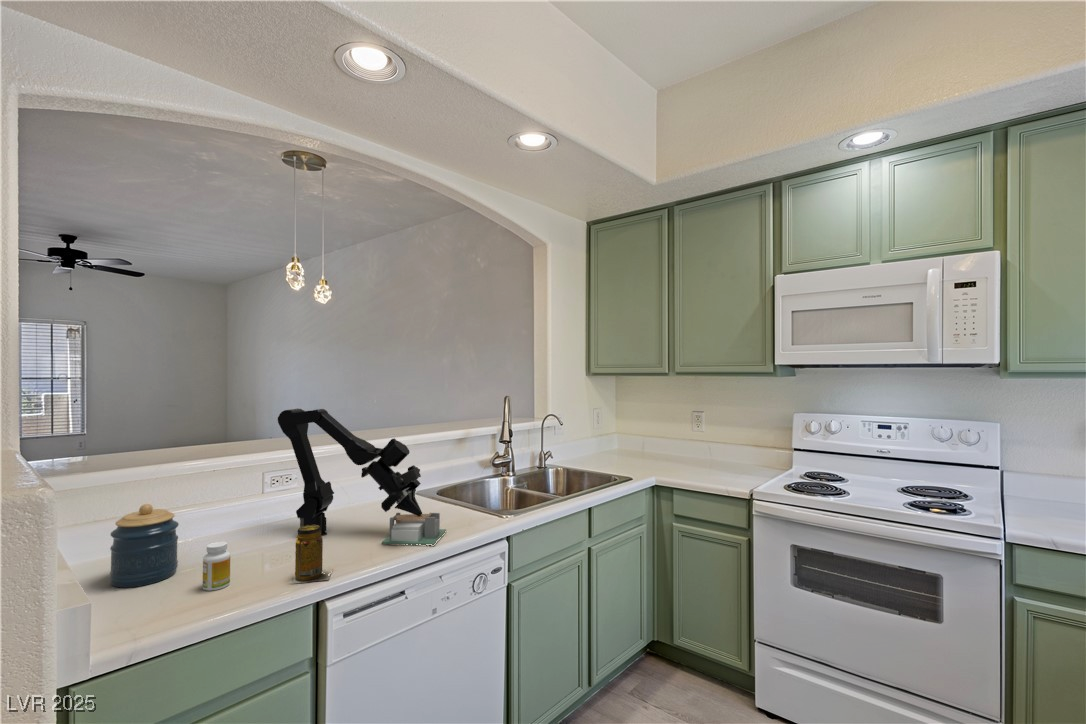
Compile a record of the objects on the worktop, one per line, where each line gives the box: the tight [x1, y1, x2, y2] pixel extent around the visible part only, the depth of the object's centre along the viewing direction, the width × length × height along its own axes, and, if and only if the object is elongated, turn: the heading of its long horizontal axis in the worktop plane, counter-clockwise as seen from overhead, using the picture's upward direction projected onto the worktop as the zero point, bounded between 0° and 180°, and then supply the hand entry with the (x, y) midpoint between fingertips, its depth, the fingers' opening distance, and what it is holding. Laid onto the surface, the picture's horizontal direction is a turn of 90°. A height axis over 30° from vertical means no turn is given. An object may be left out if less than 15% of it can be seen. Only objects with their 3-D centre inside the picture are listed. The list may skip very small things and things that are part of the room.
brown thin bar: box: [393, 513, 432, 521], centre depth 151 cm, size 1×3×12 cm
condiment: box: [289, 525, 334, 585], centre depth 123 cm, size 7×8×12 cm
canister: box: [109, 503, 180, 588], centre depth 122 cm, size 13×13×18 cm
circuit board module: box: [381, 512, 447, 546], centre depth 151 cm, size 16×13×7 cm
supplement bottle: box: [202, 541, 231, 592], centre depth 117 cm, size 5×5×10 cm
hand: (421, 514), depth 151 cm, fingers closed, pressing on brown thin bar
